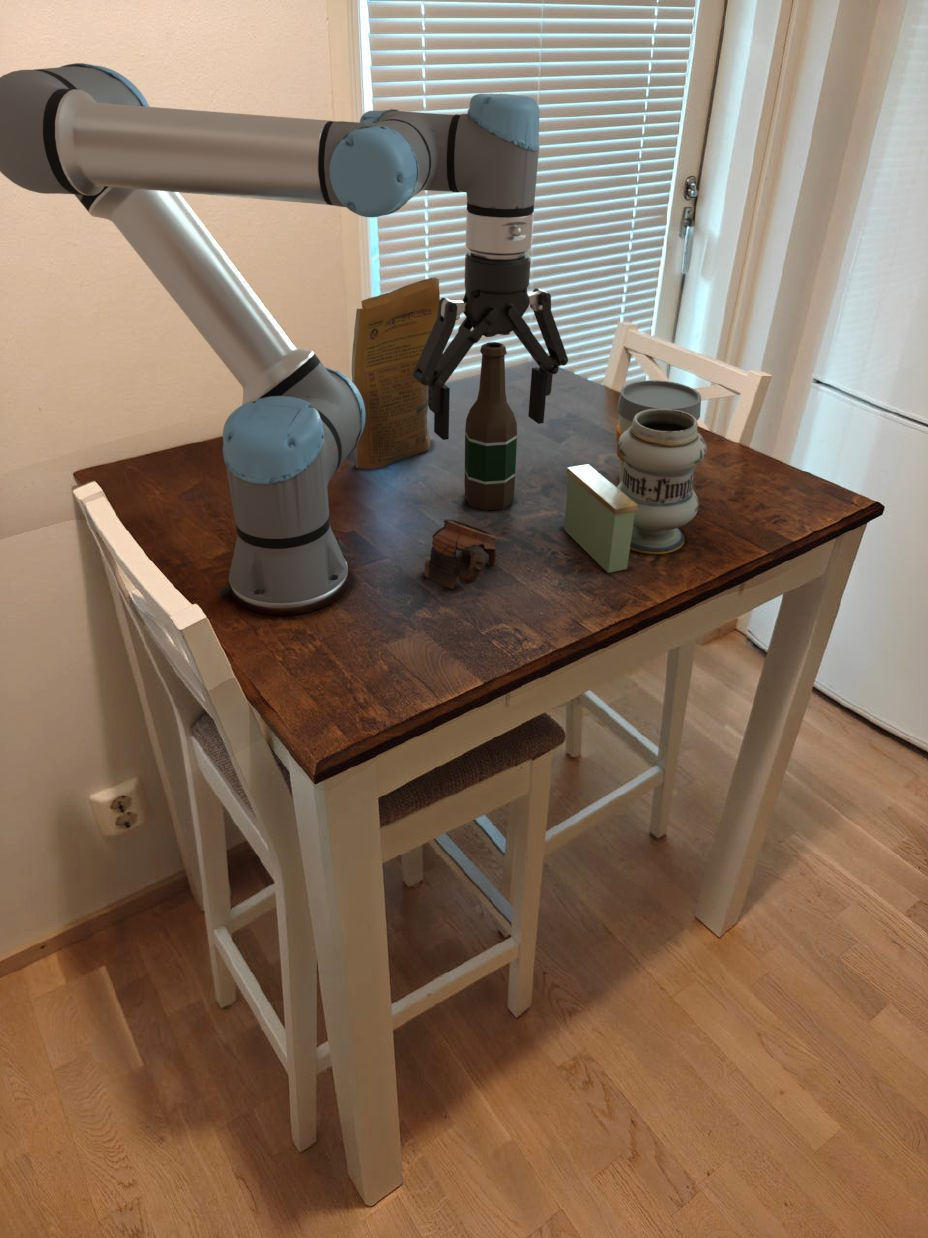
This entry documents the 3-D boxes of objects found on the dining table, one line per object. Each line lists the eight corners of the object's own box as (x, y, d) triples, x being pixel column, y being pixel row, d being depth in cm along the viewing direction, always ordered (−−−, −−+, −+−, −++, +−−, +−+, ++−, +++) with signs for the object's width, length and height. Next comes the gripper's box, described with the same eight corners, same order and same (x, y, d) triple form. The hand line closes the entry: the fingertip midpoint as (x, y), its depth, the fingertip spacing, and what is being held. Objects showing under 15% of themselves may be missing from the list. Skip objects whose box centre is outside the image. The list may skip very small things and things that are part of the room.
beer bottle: (509, 513, 133) (517, 355, 120) (459, 508, 134) (460, 351, 121) (517, 491, 140) (525, 338, 126) (469, 486, 141) (471, 334, 127)
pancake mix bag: (453, 446, 153) (453, 278, 137) (367, 479, 142) (357, 300, 126) (426, 435, 157) (424, 270, 141) (341, 466, 146) (328, 291, 130)
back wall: (607, 574, 119) (615, 509, 114) (561, 529, 130) (567, 467, 124) (629, 569, 121) (638, 504, 115) (582, 525, 131) (588, 463, 125)
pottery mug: (409, 568, 121) (428, 511, 120) (467, 585, 125) (487, 529, 124) (443, 592, 111) (465, 529, 109) (506, 609, 115) (527, 548, 114)
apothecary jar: (591, 526, 130) (604, 409, 120) (660, 511, 134) (678, 397, 124) (636, 565, 121) (654, 442, 111) (709, 548, 125) (732, 428, 115)
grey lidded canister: (702, 497, 139) (718, 405, 130) (628, 506, 136) (640, 413, 127) (665, 464, 149) (678, 376, 140) (595, 472, 146) (605, 383, 137)
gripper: (410, 268, 94) (411, 454, 106) (608, 250, 103) (588, 423, 115) (384, 252, 99) (387, 431, 111) (574, 237, 108) (558, 403, 121)
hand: (489, 427), depth 113 cm, fingers open, 13 cm apart
